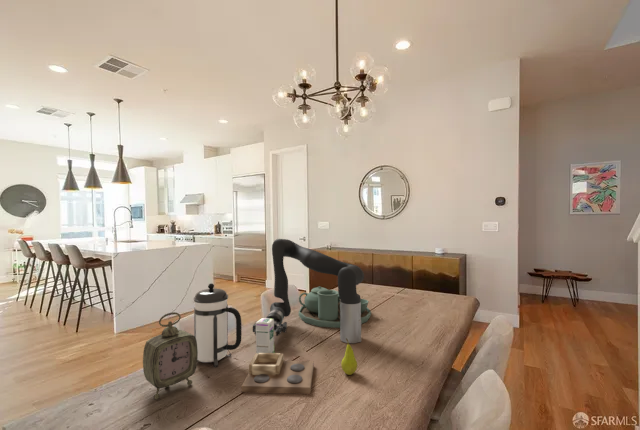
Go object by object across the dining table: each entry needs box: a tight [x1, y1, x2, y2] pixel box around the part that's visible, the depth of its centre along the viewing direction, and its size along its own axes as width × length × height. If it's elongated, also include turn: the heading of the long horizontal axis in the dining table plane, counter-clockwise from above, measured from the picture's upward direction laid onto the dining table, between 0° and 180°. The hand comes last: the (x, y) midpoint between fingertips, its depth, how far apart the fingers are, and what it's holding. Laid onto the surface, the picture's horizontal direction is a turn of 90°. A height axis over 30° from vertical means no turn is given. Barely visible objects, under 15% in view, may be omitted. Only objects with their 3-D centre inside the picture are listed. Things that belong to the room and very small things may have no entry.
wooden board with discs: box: [241, 352, 315, 395], centre depth 111 cm, size 22×18×5 cm
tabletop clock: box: [142, 311, 198, 400], centre depth 104 cm, size 14×9×25 cm, turn 139°
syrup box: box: [255, 317, 276, 354], centre depth 128 cm, size 6×6×14 cm
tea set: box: [298, 286, 372, 329], centre depth 179 cm, size 40×40×16 cm
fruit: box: [340, 338, 358, 376], centre depth 114 cm, size 6×6×12 cm
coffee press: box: [192, 282, 243, 368], centre depth 125 cm, size 17×16×30 cm
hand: (266, 333), depth 131 cm, fingers open, 8 cm apart
